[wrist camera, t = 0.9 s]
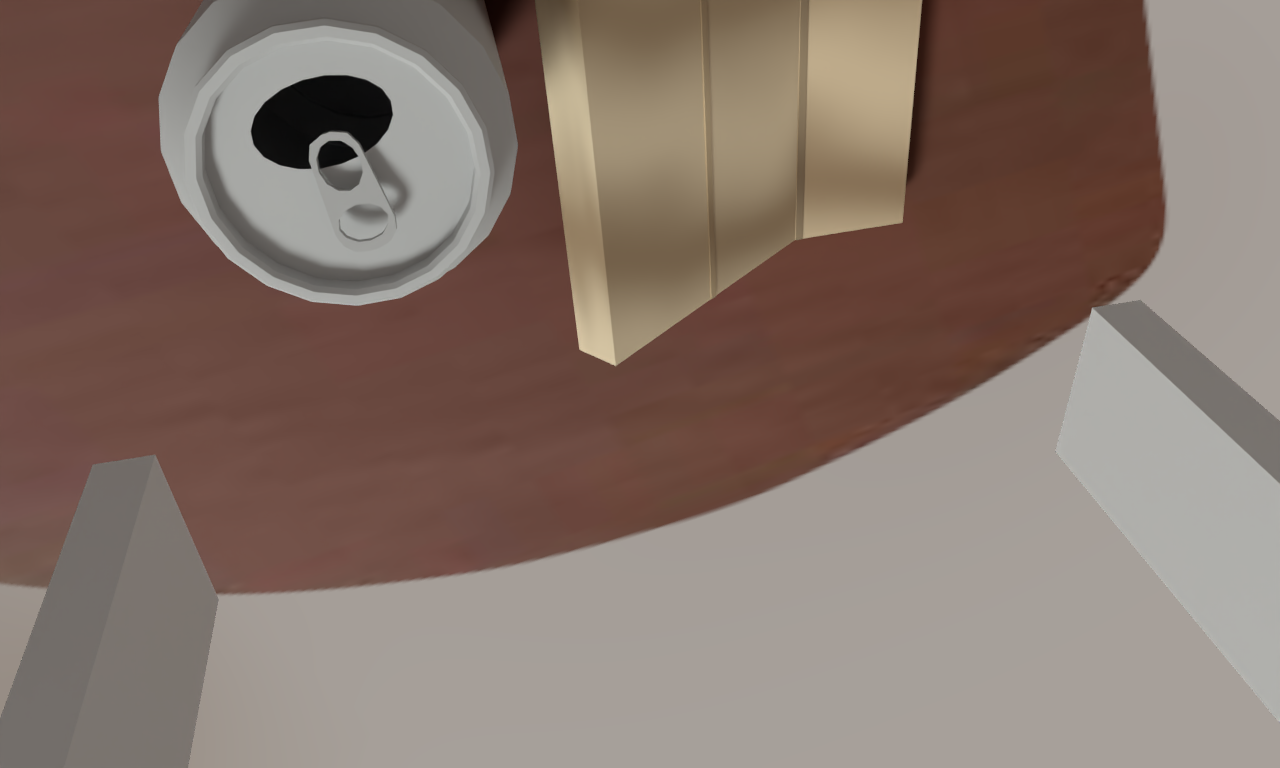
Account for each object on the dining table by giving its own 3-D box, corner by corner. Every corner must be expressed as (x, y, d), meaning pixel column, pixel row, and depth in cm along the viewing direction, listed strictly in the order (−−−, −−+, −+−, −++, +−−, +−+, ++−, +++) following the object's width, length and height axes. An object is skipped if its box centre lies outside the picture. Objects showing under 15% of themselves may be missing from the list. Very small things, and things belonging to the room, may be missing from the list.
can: (432, -155, 28) (450, -67, 18) (519, 97, 33) (569, 274, 23) (175, -72, 28) (57, 61, 18) (297, 169, 32) (254, 378, 23)
